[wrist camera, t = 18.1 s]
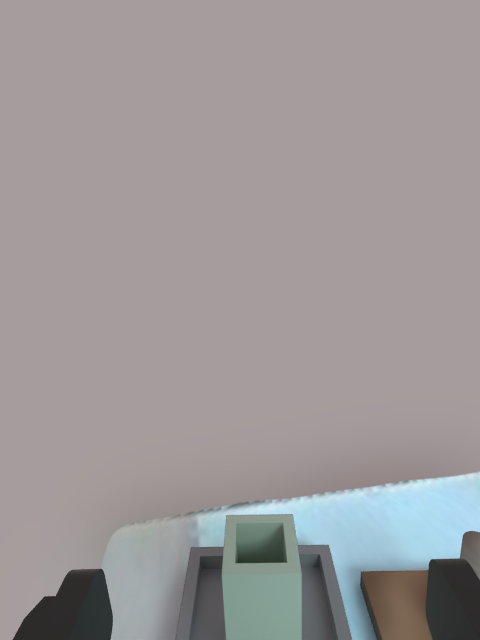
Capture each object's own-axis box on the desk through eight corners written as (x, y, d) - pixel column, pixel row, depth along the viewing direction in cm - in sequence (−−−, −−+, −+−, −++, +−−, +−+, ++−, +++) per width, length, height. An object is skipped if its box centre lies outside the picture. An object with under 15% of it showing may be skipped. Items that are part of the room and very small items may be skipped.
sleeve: (293, 616, 32) (292, 514, 29) (301, 688, 27) (301, 573, 24) (232, 617, 32) (226, 515, 29) (229, 689, 27) (221, 574, 24)
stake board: (495, 582, 35) (511, 482, 32) (618, 765, 23) (660, 632, 21) (360, 584, 35) (365, 485, 32) (415, 765, 24) (430, 635, 21)
